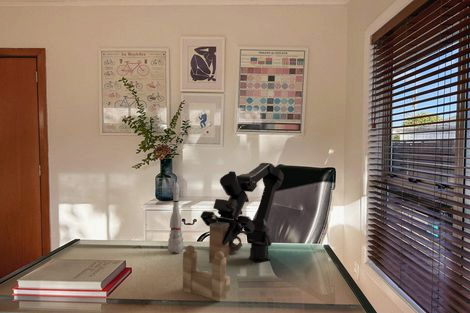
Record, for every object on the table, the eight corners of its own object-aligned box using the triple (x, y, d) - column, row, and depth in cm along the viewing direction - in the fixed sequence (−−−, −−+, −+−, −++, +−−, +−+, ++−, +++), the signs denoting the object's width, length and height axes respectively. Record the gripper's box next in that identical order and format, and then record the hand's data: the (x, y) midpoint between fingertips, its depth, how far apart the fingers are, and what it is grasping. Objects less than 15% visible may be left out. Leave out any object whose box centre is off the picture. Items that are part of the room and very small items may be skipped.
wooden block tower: (199, 281, 108) (199, 239, 108) (235, 290, 101) (235, 246, 101) (182, 290, 101) (183, 245, 101) (220, 301, 94) (220, 253, 94)
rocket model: (164, 251, 140) (164, 181, 139) (179, 248, 144) (180, 181, 143) (171, 256, 134) (172, 183, 133) (187, 252, 138) (188, 182, 137)
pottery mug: (242, 249, 146) (245, 235, 142) (236, 264, 138) (239, 251, 133) (217, 240, 148) (219, 227, 143) (210, 255, 140) (212, 242, 135)
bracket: (217, 259, 109) (217, 221, 109) (228, 261, 106) (229, 223, 106) (208, 263, 105) (209, 224, 105) (220, 265, 102) (221, 226, 102)
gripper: (203, 187, 113) (182, 225, 104) (251, 191, 104) (232, 233, 95) (216, 207, 120) (197, 243, 111) (261, 212, 111) (245, 253, 101)
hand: (216, 243), depth 104 cm, fingers closed on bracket, 4 cm apart
